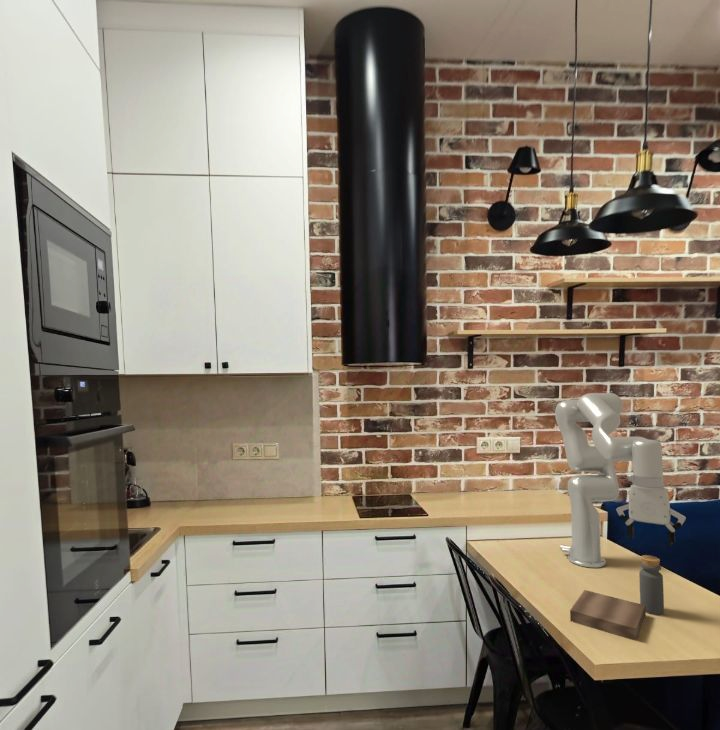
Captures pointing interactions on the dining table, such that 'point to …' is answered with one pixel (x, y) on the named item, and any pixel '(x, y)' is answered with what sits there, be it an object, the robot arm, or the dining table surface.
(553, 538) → the dining table surface
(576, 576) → the dining table surface
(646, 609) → the bottle
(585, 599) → the base
